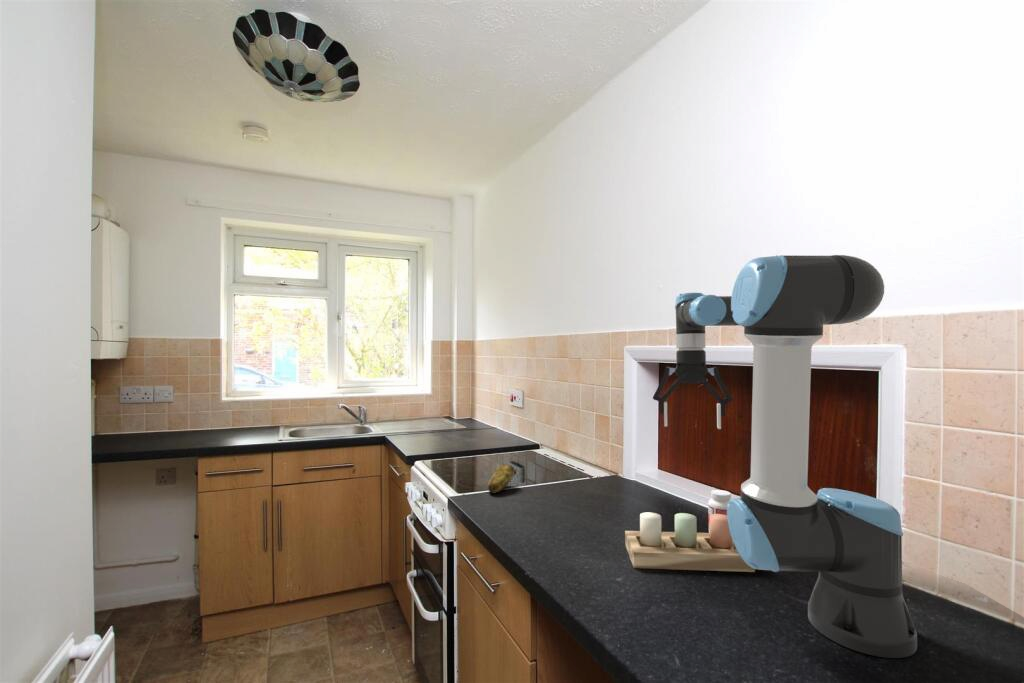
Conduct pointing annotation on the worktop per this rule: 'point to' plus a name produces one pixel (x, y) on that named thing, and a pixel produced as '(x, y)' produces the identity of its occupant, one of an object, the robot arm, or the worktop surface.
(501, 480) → the potato
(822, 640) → the worktop surface
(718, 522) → the button terracotta
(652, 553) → the board
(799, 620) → the worktop surface
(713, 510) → the pill bottle
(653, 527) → the button cream
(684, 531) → the button green
